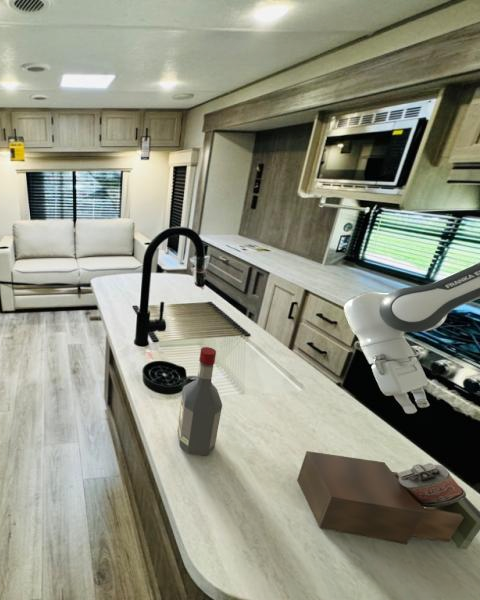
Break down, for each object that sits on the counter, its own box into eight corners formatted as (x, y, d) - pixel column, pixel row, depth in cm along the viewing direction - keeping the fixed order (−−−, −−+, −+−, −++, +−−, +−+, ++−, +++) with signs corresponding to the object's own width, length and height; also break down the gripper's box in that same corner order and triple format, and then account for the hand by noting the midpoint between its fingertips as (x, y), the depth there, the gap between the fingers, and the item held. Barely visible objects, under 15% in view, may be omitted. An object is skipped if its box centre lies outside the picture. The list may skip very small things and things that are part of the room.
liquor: (208, 432, 91) (223, 343, 81) (215, 458, 83) (233, 362, 72) (176, 428, 93) (186, 340, 82) (179, 453, 85) (192, 359, 74)
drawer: (446, 503, 70) (461, 478, 67) (492, 554, 60) (511, 528, 57) (350, 487, 74) (361, 463, 71) (379, 533, 64) (392, 508, 61)
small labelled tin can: (456, 482, 64) (432, 453, 62) (471, 498, 61) (447, 469, 59) (411, 494, 68) (388, 468, 66) (424, 510, 65) (399, 483, 63)
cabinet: (370, 492, 73) (384, 462, 70) (406, 544, 63) (425, 512, 59) (296, 480, 77) (306, 450, 73) (319, 528, 66) (331, 496, 63)
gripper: (388, 352, 72) (422, 415, 67) (416, 348, 82) (448, 402, 77) (356, 359, 77) (386, 418, 72) (387, 354, 87) (414, 405, 82)
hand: (418, 409), depth 75 cm, fingers open, 8 cm apart
